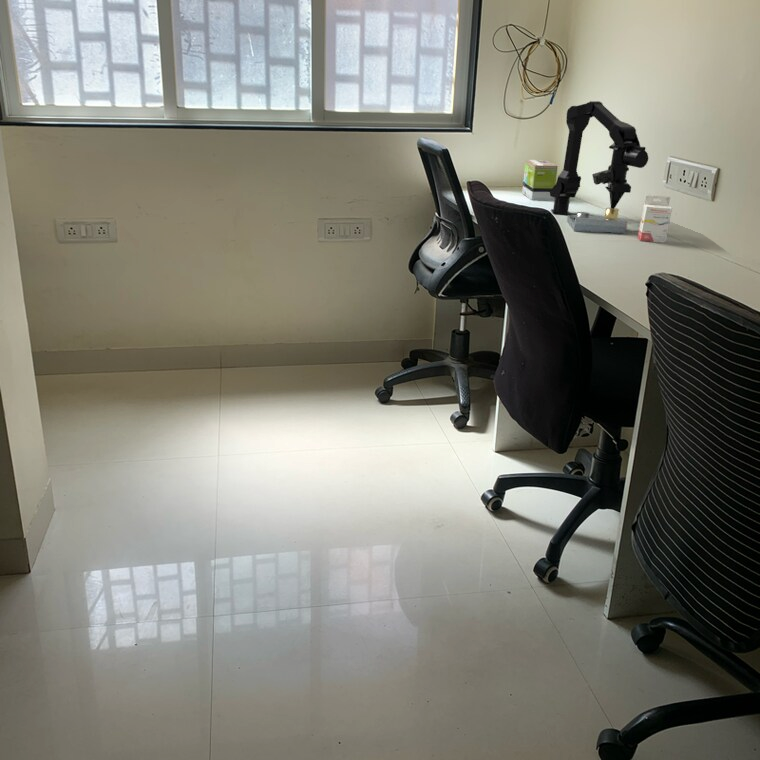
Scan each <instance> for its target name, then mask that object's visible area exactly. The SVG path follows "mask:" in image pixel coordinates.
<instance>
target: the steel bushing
mask: <svg viewBox="0 0 760 760" xmlns="http://www.w3.org/2000/svg"><path fill="white" fill-rule="evenodd" d="M576 215H577V218H589V216H591V213H590V212H586V211H577V212H576Z"/></svg>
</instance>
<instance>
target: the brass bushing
mask: <svg viewBox="0 0 760 760" xmlns="http://www.w3.org/2000/svg"><path fill="white" fill-rule="evenodd" d="M619 211H620V209H619V208H617V207H615V208H614V209H611V207H606V208H605V212H604V217H605V218H604V219H608V220H617V218H618V216H619Z"/></svg>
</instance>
